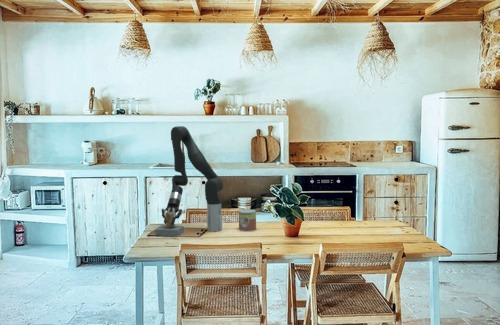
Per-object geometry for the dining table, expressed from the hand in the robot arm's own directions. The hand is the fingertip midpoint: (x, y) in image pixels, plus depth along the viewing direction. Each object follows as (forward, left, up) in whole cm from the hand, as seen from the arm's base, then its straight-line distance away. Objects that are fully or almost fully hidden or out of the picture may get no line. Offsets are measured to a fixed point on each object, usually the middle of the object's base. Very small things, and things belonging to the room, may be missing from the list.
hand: (168, 223), depth 274 cm
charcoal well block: (0, -2, -7) cm, 7 cm away
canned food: (-46, -20, -7) cm, 51 cm away
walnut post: (0, -2, -5) cm, 5 cm away
